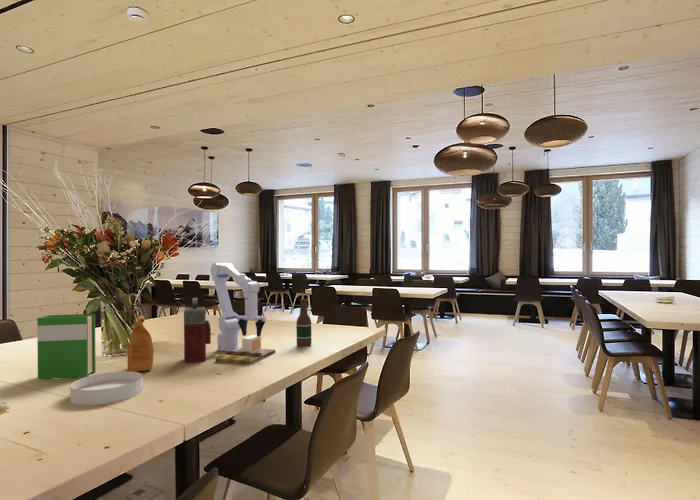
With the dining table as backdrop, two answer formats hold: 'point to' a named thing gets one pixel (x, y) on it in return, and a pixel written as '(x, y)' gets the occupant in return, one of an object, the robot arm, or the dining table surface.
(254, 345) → the label carton
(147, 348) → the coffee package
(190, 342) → the dark red canister
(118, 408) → the dining table surface
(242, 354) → the shelf board
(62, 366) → the hardback book
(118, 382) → the dish
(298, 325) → the beer bottle
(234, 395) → the dining table surface
